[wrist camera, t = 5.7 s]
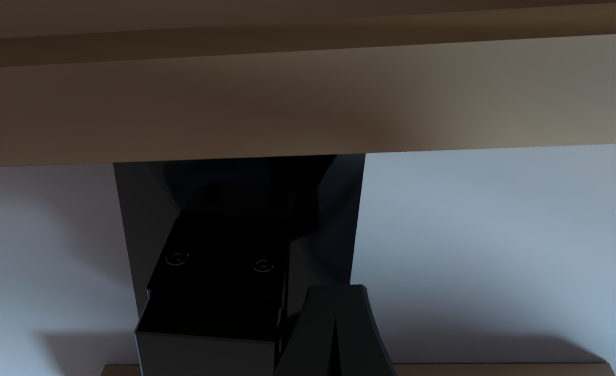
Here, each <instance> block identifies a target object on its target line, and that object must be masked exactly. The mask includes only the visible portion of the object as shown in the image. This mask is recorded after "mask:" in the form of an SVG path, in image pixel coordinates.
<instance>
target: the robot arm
mask: <svg viewBox="0 0 616 376" xmlns="http://www.w3.org/2000/svg"><path fill="white" fill-rule="evenodd" d="M272 376H398V375H397V373H396V371H395V369H394V367H393V365H392V362H391V360H390V358H389V356H388V353H387V351H386V349H385V346H384V344H383V342H382V339H381V337H380V334H379V332H378V329H377V326H376V323H375V320H374V317H373V314H372V311H371V307H370V303H369V299H368V294H367V288H366V287H365V286H363V285H362V284H360V285H311V286H310V287H309V288H308V289H307V292H306V297H305V300H304V303H303V307H302V310H301V313H300V315H299V318H298V321H297V323H296V326H295V328H294V331H293V333H292V335H291V338H290V340H289V342H288V344H287V346H286V349H285V351H284V353H283V355H282V357H281V359H280V361H279V363H278V365H277V367H276V369H275V371H274V373H273V375H272Z"/></svg>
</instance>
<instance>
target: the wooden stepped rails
mask: <svg viewBox="0 0 616 376" xmlns="http://www.w3.org/2000/svg"><path fill="white" fill-rule="evenodd" d="M595 144H616V0H0V167H4V166H31V165H58V164H85V163H112V162H139V161H165V160H192V159H219V158H246V157H273V156H300V155H327V154H353V153H380V152H407V151H434V150H461V149H488V148H515V147H541V146H568V145H595ZM392 365H393V367H394V369H395V371H396V373H397V375H398V376H615V374H614V372H613V370H612V368H611V366H610V364H609V363H554V364H392ZM101 376H142V373H141V368H140V365H105V367H104V370H103V372H102V374H101Z"/></svg>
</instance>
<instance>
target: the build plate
mask: <svg viewBox="0 0 616 376" xmlns="http://www.w3.org/2000/svg"><path fill="white" fill-rule="evenodd" d="M365 155H366V153H353V154H327V155H300V156H273V157H246V158H219V159H192V160H165V161H139V162H113V166H114V172H115V178H116V184H117V190H118V196H119V202H120V208H121V214H122V220H123V226H124V232H125V238H126V244H127V250H128V256H129V262H130V268H131V274H132V280H133V286H134V292H135V298H136V304H137V310H138V316H139V321H138V324H137V326H136V329H135V331H134V335H135V341H136V346H137V352H138V357H139V362H140V368H141V373H142V376H272V375H273V373H274V371H275V369H276V367H277V365H278V363H279V361H280V359H281V357H282V355H283V353H284V351H285V349H286V346H287V344H288V342H289V340H290V338H291V335H292V333H293V331H294V328H295V326H296V323H297V321H298V318H299V315H300V313H301V310H302V307H303V303H304V300H305V297H306V292H307V289H308V288H309V287H310V286H311V285H350V278H351V270H352V261H353V253H354V245H355V237H356V229H357V221H358V212H359V204H360V196H361V188H362V180H363V171H364V163H365Z"/></svg>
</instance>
